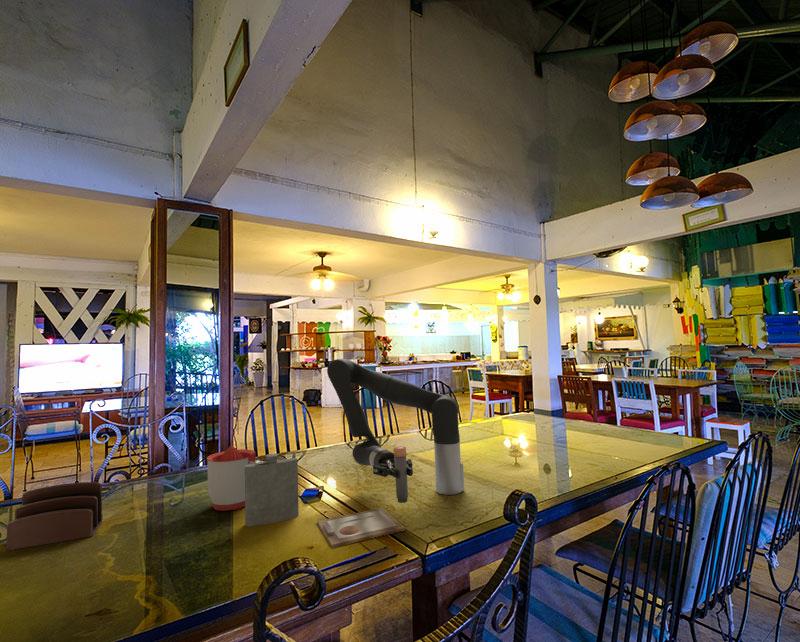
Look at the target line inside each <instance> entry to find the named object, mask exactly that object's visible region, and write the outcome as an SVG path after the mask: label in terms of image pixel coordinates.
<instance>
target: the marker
mask: <svg viewBox="0 0 800 642" xmlns="http://www.w3.org/2000/svg"><path fill="white" fill-rule="evenodd" d="M393 453H394V460H395V469H397V470H398V471H399V472H400V478H398V479H397V478H395V477H394V478H395V492H396V493H395V494H396V499H397V503H400V504H405V503H407V502H408V498H409V486H408V485H409V483H408V475H407V465H406V461H407V447H406V446H402V445H399V446H394V447H393Z"/></svg>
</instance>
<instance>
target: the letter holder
mask: <svg viewBox="0 0 800 642" xmlns="http://www.w3.org/2000/svg"><path fill="white" fill-rule="evenodd" d="M21 496H22V497H21V499H22V500H21V504H22V505H20V506H18V507H17V508H16V509H15V510H14V520H13V519H12V520H11V521H9V522H8V523H7V525H6V542H5V543H6V544H5V547H6V548H5V549H6V550H5V551H6V552H8V551H9V552H10V551H14V550H22V549H25V548H26V549H27V548H33V547H39V546H44V545H45V546H46V545H49V544H56V543H62V542H67V541H73V540H80V539H85V538H92V537H93V536H94V535H95V534H96V532H97V531H98V530H99V528H100V527H101V526H102V525H103V485H102V483H101V482H99V481H98V482H97V481H94V482H93V481H86V482H81V481H79V482H71V483H70V482H69V483H63V484H55V485H49V486H45V487H40V488H35V489H30V490H28V491H25V492H24V493H22V495H21Z"/></svg>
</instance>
